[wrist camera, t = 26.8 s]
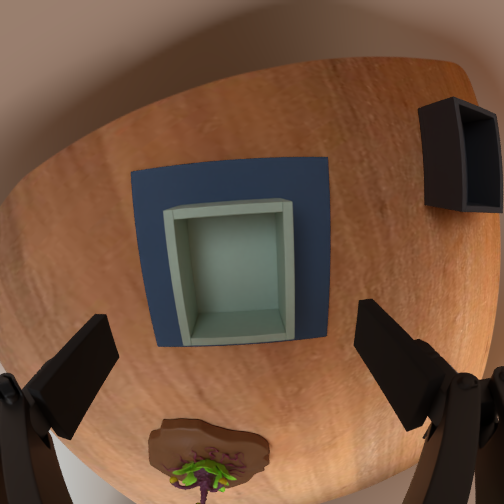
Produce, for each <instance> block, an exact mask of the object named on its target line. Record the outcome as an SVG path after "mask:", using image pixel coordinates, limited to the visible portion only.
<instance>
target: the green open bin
mask: <svg viewBox="0 0 504 504" xmlns="http://www.w3.org/2000/svg"><path fill="white" fill-rule="evenodd" d="M163 216H164V225H165V234H166V243H167V251H168V259H169V266H170V273H171V280H172V286H173V292H174V298H175V304H176V310H177V315H178V321H179V326H180V331H181V336H182V341H183V346H192V345H225V344H243V343H258V342H270V341H281V340H291V339H294V338H295V269H294V228H293V202H292V201H289V200H286V199H282V198H270V199H252V200H236V201H222V202H210V203H198V204H187V205H179V206H176V207H173V208H170V209H167V210H164V211H163Z"/></svg>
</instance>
